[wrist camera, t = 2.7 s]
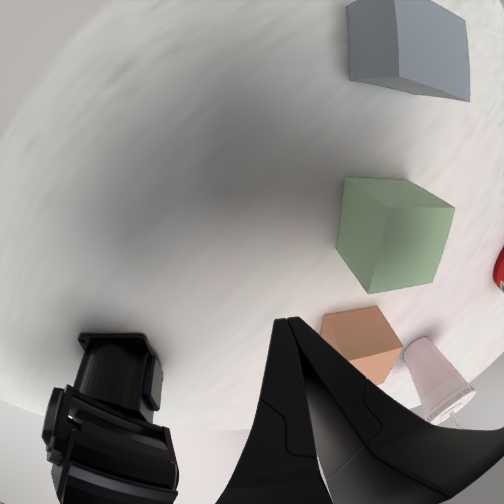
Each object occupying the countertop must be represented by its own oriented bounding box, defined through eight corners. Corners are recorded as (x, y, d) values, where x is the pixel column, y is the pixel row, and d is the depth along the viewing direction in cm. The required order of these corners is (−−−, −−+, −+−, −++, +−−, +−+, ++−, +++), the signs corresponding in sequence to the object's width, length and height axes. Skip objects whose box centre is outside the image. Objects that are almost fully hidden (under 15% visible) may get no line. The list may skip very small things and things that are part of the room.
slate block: (348, 80, 13) (399, 76, 8) (345, 7, 10) (391, -18, 6) (414, 94, 13) (469, 102, 9) (412, 28, 10) (465, 20, 6)
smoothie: (416, 327, 24) (479, 431, 12) (445, 328, 26) (501, 414, 14) (383, 366, 27) (430, 465, 15) (415, 364, 29) (459, 447, 17)
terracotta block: (315, 352, 24) (331, 396, 19) (324, 313, 21) (345, 361, 17) (363, 343, 24) (383, 383, 20) (376, 305, 22) (403, 346, 17)
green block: (335, 248, 18) (367, 294, 14) (344, 176, 16) (387, 207, 11) (394, 243, 19) (432, 282, 14) (406, 179, 16) (455, 208, 12)
